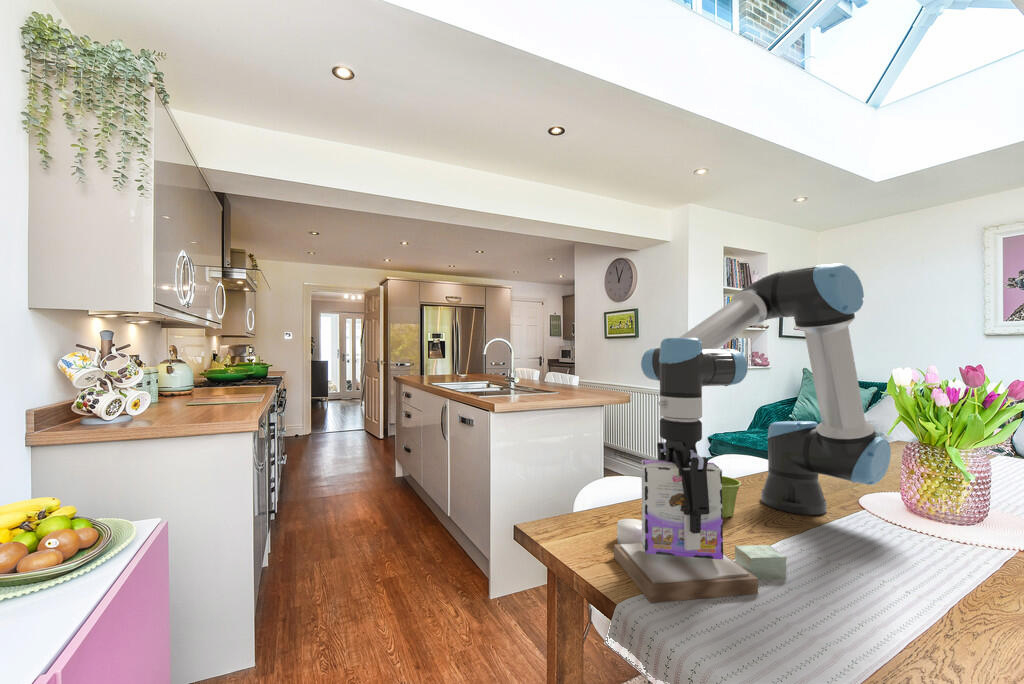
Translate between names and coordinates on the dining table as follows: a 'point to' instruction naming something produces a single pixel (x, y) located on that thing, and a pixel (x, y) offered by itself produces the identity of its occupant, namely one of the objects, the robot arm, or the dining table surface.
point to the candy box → (678, 512)
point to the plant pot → (729, 495)
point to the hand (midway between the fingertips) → (680, 539)
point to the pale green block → (761, 561)
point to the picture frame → (683, 575)
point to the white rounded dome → (629, 531)
